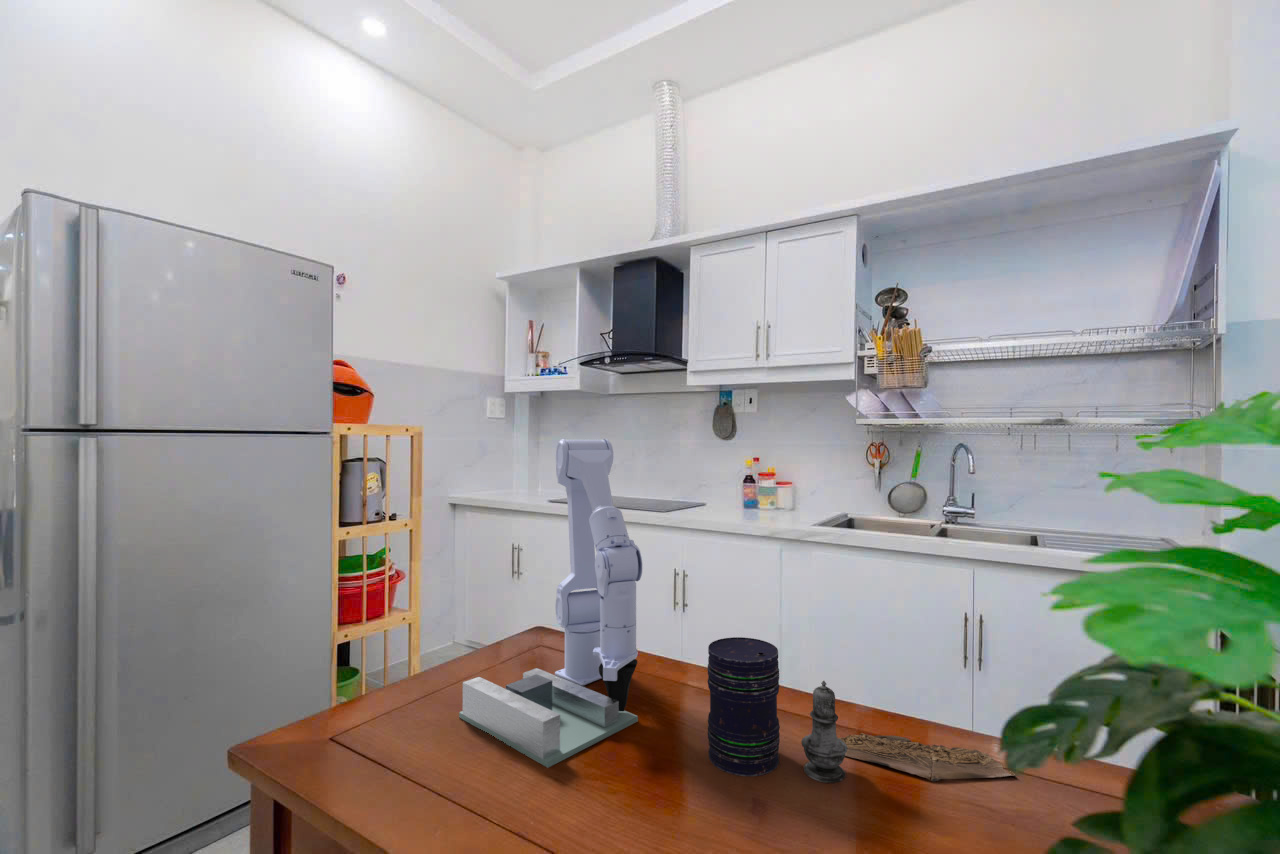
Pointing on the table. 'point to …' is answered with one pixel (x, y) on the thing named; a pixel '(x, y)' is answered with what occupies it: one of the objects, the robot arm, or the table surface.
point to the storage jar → (743, 706)
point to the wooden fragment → (923, 757)
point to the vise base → (571, 734)
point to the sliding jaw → (580, 700)
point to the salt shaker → (824, 739)
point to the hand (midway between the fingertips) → (618, 709)
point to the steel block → (534, 690)
